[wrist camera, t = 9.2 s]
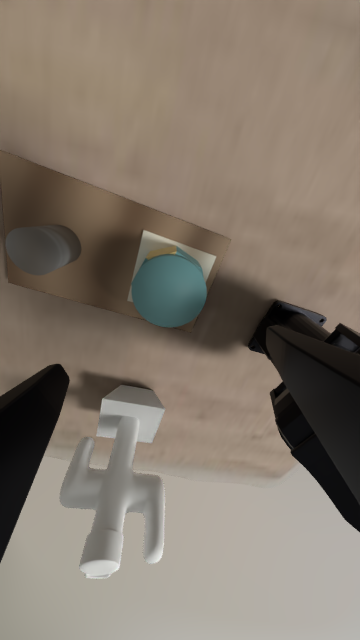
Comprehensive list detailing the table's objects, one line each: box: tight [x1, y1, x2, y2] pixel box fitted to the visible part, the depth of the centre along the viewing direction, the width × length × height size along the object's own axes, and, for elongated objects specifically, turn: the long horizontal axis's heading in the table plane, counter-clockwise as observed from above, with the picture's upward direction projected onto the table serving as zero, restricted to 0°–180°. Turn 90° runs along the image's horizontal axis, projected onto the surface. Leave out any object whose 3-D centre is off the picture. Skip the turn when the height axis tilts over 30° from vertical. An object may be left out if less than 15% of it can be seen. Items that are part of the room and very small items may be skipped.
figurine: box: [60, 385, 165, 579], centre depth 20 cm, size 7×9×15 cm
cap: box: [131, 246, 207, 327], centre depth 16 cm, size 6×6×4 cm
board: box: [0, 150, 231, 333], centre depth 16 cm, size 18×10×5 cm, turn 71°
